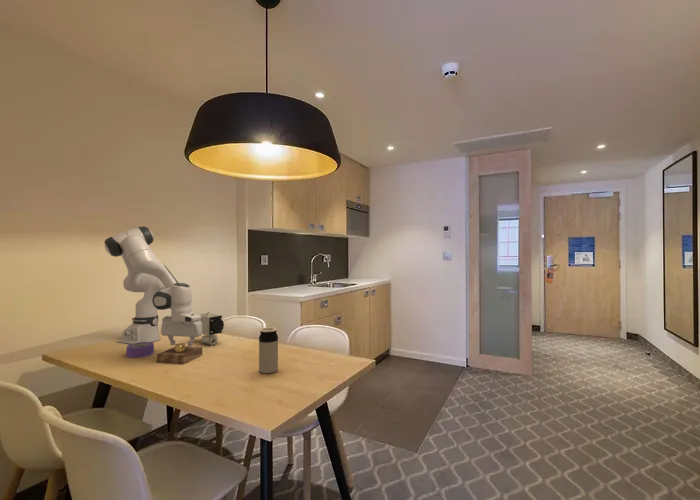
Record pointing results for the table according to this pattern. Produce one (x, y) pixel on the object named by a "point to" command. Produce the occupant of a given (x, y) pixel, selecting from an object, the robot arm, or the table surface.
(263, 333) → the travel mug
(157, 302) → the robot arm
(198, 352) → the block
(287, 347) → the table surface
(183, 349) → the cylinder
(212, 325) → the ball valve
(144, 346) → the tape roll
